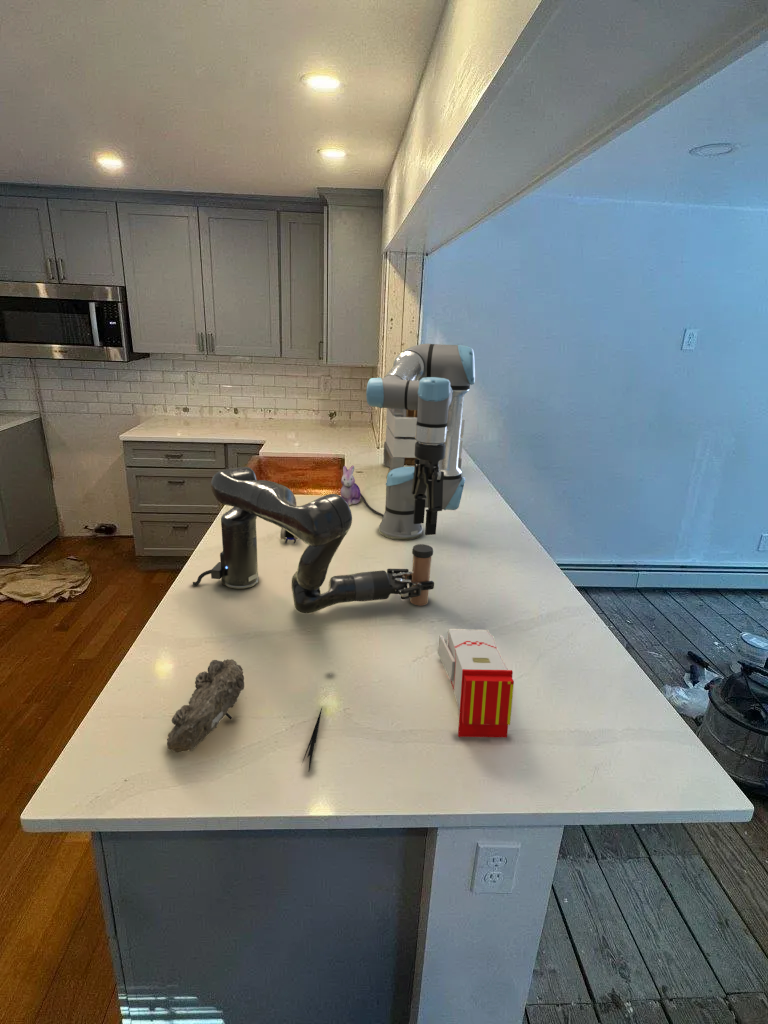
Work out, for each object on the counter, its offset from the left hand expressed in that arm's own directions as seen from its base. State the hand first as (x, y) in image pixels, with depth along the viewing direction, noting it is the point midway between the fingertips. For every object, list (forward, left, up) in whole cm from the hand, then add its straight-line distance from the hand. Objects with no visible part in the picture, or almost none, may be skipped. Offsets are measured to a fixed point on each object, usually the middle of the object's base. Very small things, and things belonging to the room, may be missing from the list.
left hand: (429, 580), depth 153 cm
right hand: (-2, -1, +15) cm, 15 cm away
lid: (-2, -1, +9) cm, 10 cm away
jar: (-2, -1, -6) cm, 7 cm away
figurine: (-37, +75, -6) cm, 84 cm away
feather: (-17, -52, -6) cm, 55 cm away
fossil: (-37, -55, -6) cm, 67 cm away
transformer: (-13, +127, -6) cm, 127 cm away
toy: (+12, -38, -6) cm, 40 cm away
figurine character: (-48, +33, -6) cm, 59 cm away
